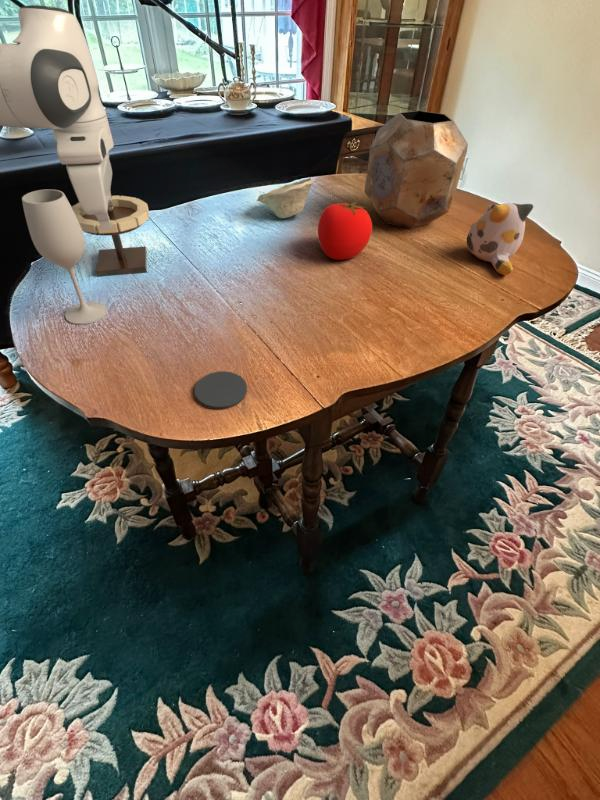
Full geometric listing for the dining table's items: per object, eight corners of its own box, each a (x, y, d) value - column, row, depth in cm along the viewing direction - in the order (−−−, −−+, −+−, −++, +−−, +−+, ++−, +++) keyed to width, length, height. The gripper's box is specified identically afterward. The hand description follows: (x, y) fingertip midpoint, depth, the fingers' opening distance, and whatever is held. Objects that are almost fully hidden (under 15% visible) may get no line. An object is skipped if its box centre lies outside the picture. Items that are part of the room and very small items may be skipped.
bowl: (284, 201, 124) (284, 163, 117) (322, 215, 117) (325, 176, 110) (246, 215, 115) (244, 175, 108) (285, 231, 109) (286, 190, 102)
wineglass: (83, 330, 77) (37, 209, 62) (55, 316, 79) (4, 198, 65) (116, 310, 82) (80, 194, 67) (89, 298, 84) (49, 184, 69)
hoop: (66, 235, 81) (63, 227, 80) (75, 205, 91) (72, 197, 90) (149, 230, 84) (147, 222, 83) (148, 201, 94) (147, 193, 93)
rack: (90, 280, 89) (64, 204, 78) (94, 252, 98) (72, 181, 87) (153, 274, 92) (136, 200, 81) (152, 248, 100) (137, 178, 89)
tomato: (304, 258, 99) (306, 207, 91) (329, 237, 108) (333, 188, 100) (353, 272, 95) (360, 220, 87) (375, 248, 104) (383, 199, 96)
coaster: (197, 413, 63) (196, 410, 63) (193, 377, 69) (192, 374, 69) (250, 405, 65) (250, 402, 65) (242, 371, 71) (242, 368, 70)
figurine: (504, 234, 107) (536, 185, 93) (519, 292, 101) (556, 249, 87) (456, 235, 107) (481, 186, 93) (469, 293, 101) (498, 250, 87)
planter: (354, 202, 125) (366, 104, 108) (436, 203, 127) (461, 107, 110) (367, 235, 109) (383, 127, 93) (460, 236, 111) (493, 130, 94)
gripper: (70, 120, 78) (94, 198, 88) (55, 156, 65) (85, 244, 75) (107, 119, 80) (126, 196, 90) (99, 154, 66) (123, 241, 76)
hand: (108, 218), depth 82 cm, fingers open, 7 cm apart
